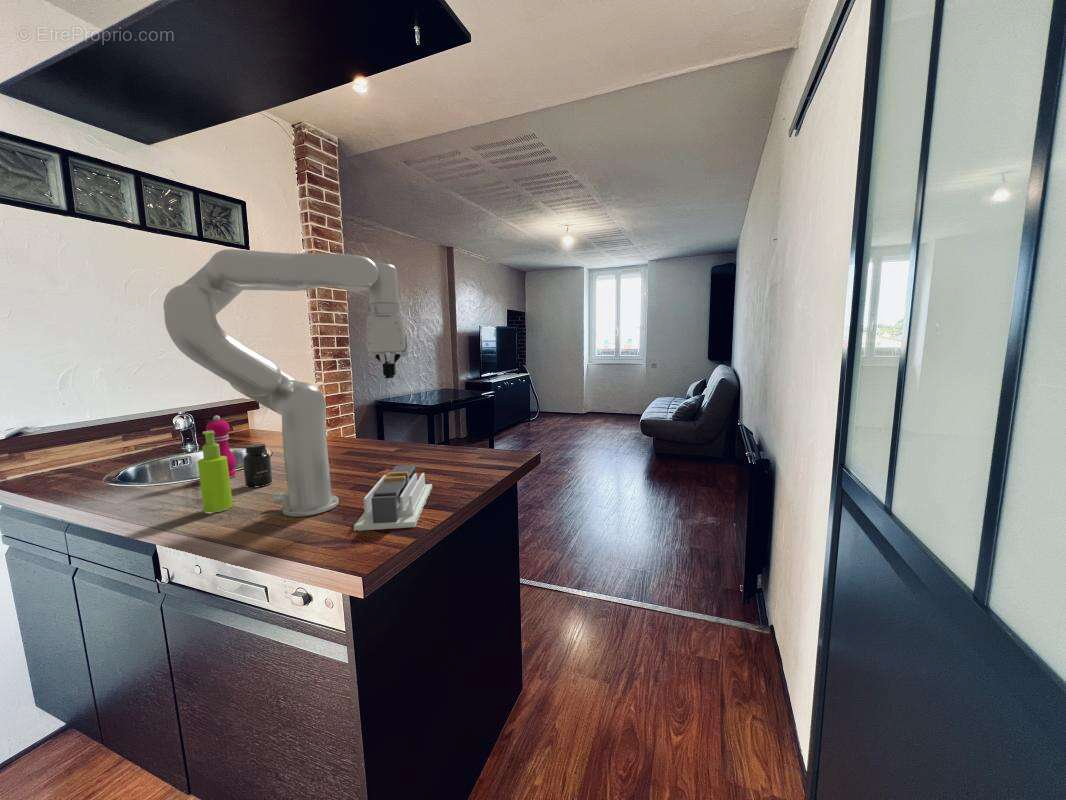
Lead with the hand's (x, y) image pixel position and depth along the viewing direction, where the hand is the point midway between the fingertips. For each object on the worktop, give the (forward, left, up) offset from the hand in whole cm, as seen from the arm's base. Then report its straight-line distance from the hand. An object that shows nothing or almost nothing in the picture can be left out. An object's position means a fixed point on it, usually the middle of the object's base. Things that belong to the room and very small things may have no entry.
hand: (389, 377), depth 118 cm
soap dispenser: (-42, -11, -31) cm, 54 cm away
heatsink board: (+4, -17, -31) cm, 36 cm away
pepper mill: (-58, +18, -31) cm, 68 cm away
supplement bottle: (-42, +8, -31) cm, 53 cm away
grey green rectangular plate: (+4, -11, -24) cm, 27 cm away
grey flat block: (+4, -23, -25) cm, 34 cm away
